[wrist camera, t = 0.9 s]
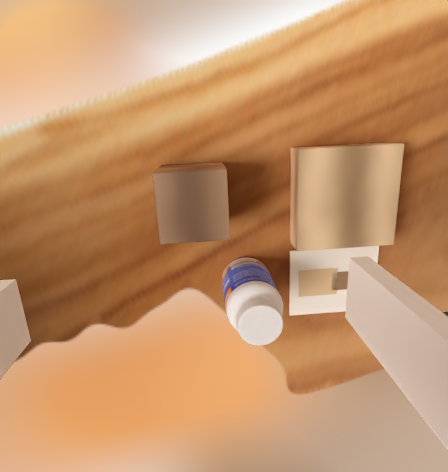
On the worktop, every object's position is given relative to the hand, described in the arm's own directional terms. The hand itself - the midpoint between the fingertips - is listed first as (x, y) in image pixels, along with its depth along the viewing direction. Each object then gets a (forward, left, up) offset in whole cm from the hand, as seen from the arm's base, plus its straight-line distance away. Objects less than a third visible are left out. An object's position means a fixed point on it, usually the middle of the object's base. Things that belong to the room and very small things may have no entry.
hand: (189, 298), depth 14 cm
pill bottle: (+5, -10, -23) cm, 25 cm away
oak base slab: (+15, -1, -23) cm, 27 cm away
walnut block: (0, 0, -23) cm, 23 cm away
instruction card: (+15, -11, -23) cm, 29 cm away
